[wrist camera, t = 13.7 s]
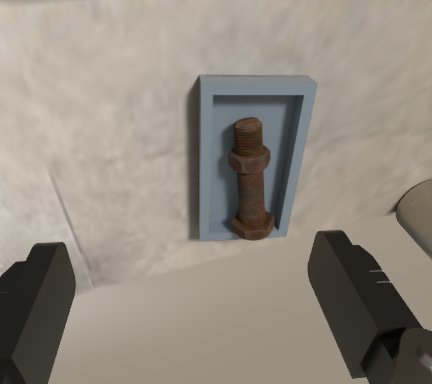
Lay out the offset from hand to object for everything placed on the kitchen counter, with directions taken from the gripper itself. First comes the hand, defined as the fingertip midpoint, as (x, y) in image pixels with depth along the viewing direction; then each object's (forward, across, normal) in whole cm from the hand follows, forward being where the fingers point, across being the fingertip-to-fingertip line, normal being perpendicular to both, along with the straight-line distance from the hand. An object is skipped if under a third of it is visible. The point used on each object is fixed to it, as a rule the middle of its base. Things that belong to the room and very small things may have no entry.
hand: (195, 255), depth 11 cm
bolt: (+28, -8, +13) cm, 32 cm away
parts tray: (+28, -8, +12) cm, 32 cm away
